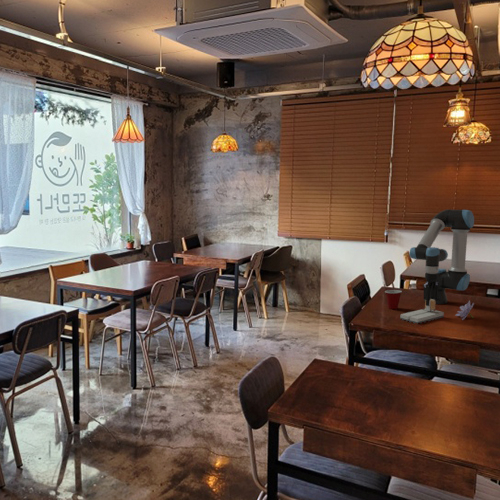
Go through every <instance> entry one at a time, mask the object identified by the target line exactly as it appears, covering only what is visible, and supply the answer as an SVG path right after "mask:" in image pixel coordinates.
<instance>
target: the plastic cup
mask: <svg viewBox="0 0 500 500" xmlns="http://www.w3.org/2000/svg"><path fill="white" fill-rule="evenodd" d="M384 293H385V295H386V301H387V308H388V309H389V308H391V309H390V310H393V309H395V310H398V308H399V303H400V301H401V300H400V299H401V294H402V290H399V289H387V290H385V291H384Z"/></svg>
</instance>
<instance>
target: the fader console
mask: <svg viewBox="0 0 500 500" xmlns="http://www.w3.org/2000/svg"><path fill="white" fill-rule="evenodd" d="M444 314H445V312H444V311H439V310H435V309H434V310H431V312H429V311H427V310H426V308H425V307H424V308H421V309H418V310H414V311H408V312H404V313H401V314H400V317H399V320H400V319H402V320H401V321H404V320H406V321H405V322H407V321H409V322H408V323H411V322H413V323H412V324H415V323H417V324H416V325H419V324H418V323H420V324H423V323H422V322H424V323H427V322H426V321H428V322H430V321H431V320H432V321H434V319H435V320H438V319H443V318H444V317H445V315H444Z"/></svg>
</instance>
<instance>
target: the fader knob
mask: <svg viewBox="0 0 500 500" xmlns="http://www.w3.org/2000/svg"><path fill="white" fill-rule="evenodd" d="M430 301H431V308H430V311H429V312H431V309H432V310H433V309H434V310H436V304H435V303H436V301H433V300H430ZM424 302H425V303H424V309H425V308H426V300H425V301H424Z"/></svg>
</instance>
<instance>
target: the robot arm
mask: <svg viewBox="0 0 500 500" xmlns="http://www.w3.org/2000/svg"><path fill="white" fill-rule="evenodd" d="M429 224H430V225H429V227H428V228H427V230H426V231H425V232H424V234H423V235H422V238H421V239H420V241H419V242H418V244H417V246H416V247H415V246H413V247H411V248H410V249H409V257H410V259H412V260H413V259H414V260H422V261H425V268H424V270H425V271H424V272H425V274H424V279H425V280H426V281H425V283H423V284H422V285H423V286H422V287H423V302H425V300H426V310H427V311H430V308H431V301H430V300H433V301H436V303H435V305H443V304H448V297H447V293H446V290H447V289H448V290H453V291H454V290H455V291H465V290H467V288H468V286H469V284H470V281H471V276H470V274H469V273H468V270H467V269H466V258H467V257H466V256H467V243H468V234H469V233H468V232H470V231H471V229H472V228H473V227H474V224H475V217H474V214H473V212H472V210H469V209H450V208H449V209H444V210H441V211H439V212H438V213H436V215H434V216H433V218H431V220H430V223H429ZM447 227H449V228H450V230H451V231H452V236H453V237H452V246H451V264H450V268H448V270H447V269H446V268H439V267H440V266H439V265H440V262H444V261H446V260H447V258H448V257H449V255H448V252H447V250H446V249H444V248H439V247H435V246H433V247H432V245H433V244H434V242H435V240H436V239H437V237H438V235H439V234H440V232H441V231H442V230H444V229H445V228H447ZM431 310H432V309H431ZM433 310H434V311H435V309H433Z"/></svg>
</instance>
